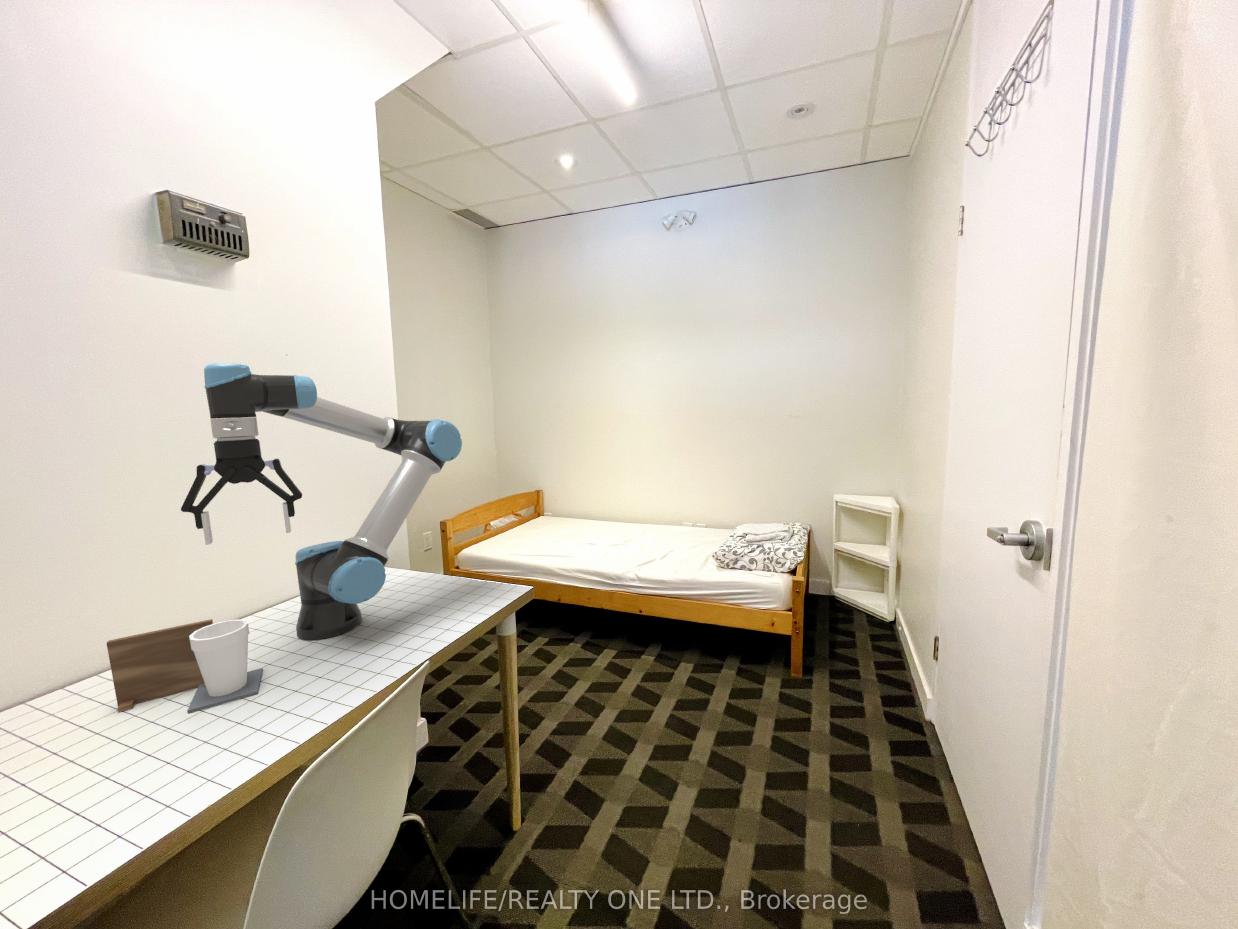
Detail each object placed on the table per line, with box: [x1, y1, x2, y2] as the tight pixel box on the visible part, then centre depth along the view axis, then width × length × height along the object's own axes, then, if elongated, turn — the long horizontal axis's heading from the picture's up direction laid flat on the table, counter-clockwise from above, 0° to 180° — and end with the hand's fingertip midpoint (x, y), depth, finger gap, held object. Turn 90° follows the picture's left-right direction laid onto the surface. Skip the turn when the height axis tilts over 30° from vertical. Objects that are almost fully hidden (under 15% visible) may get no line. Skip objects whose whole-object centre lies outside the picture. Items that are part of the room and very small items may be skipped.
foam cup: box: [189, 618, 250, 697], centre depth 100 cm, size 10×9×13 cm
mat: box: [186, 667, 264, 714], centre depth 100 cm, size 11×11×1 cm
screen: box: [106, 618, 214, 714], centre depth 99 cm, size 5×16×14 cm, turn 122°
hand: (250, 537), depth 102 cm, fingers open, 13 cm apart
